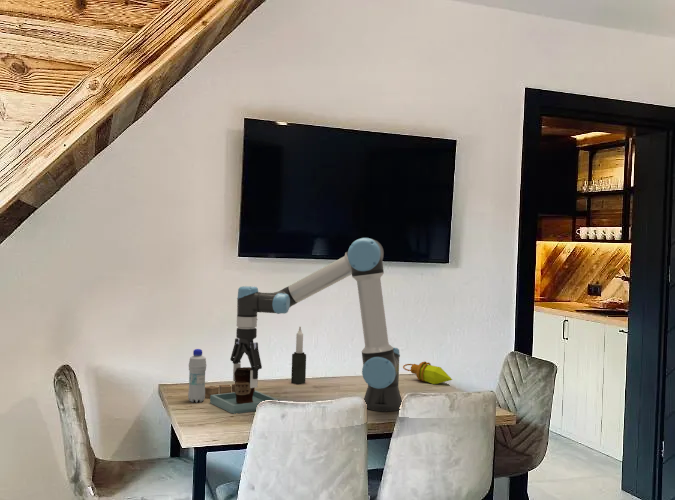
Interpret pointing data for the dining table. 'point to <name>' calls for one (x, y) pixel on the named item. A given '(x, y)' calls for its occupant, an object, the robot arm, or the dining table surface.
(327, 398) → the dining table surface
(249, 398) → the coffee cup
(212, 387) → the walnut block
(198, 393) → the bottle
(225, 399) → the tray
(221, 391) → the walnut block
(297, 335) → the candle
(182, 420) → the dining table surface
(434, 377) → the plumb bob
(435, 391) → the dining table surface
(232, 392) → the walnut block
